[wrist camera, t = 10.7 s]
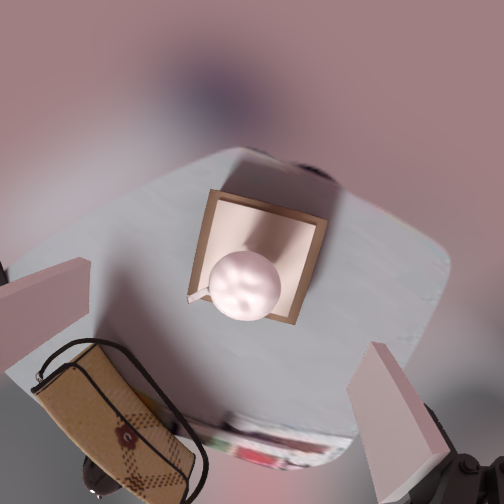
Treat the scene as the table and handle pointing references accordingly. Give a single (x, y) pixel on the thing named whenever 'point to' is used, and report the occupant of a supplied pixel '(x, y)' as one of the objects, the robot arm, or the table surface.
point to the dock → (267, 233)
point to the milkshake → (244, 283)
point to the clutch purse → (119, 425)
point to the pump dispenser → (98, 479)
